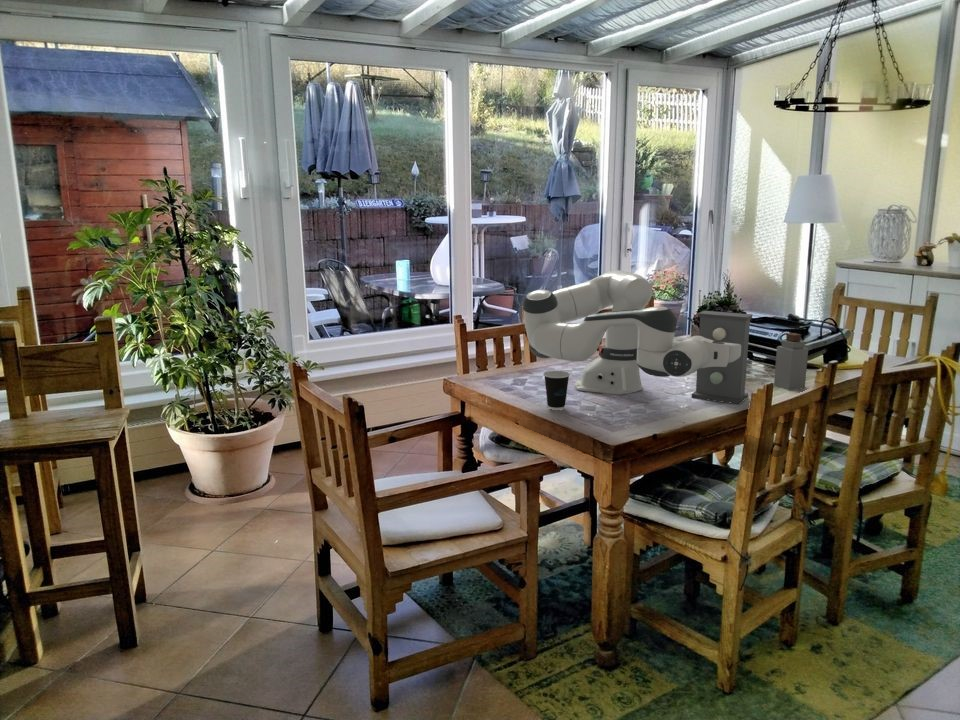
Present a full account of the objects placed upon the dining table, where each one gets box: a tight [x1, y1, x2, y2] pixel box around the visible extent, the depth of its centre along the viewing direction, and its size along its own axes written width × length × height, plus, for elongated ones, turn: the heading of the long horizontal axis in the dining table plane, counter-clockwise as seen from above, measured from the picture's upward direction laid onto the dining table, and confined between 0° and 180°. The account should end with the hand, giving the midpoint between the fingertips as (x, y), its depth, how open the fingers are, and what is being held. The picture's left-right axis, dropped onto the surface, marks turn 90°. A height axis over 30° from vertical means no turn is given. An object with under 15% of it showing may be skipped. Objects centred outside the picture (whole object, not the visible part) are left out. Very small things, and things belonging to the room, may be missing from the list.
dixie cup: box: [543, 370, 571, 411], centre depth 223 cm, size 8×8×11 cm
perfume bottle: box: [773, 332, 809, 391], centre depth 244 cm, size 7×7×18 cm
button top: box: [713, 328, 726, 340], centre depth 226 cm, size 4×3×4 cm
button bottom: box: [710, 372, 723, 384], centre depth 229 cm, size 4×3×4 cm
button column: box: [691, 310, 753, 404], centre depth 231 cm, size 15×10×27 cm, turn 56°
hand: (711, 343), depth 214 cm, fingers closed
